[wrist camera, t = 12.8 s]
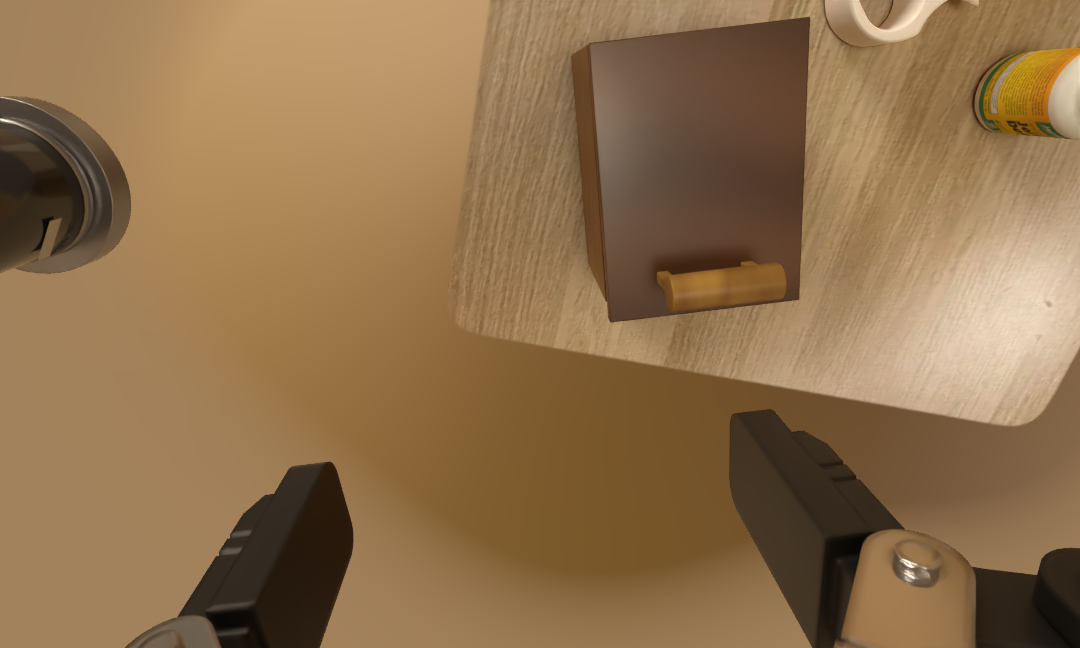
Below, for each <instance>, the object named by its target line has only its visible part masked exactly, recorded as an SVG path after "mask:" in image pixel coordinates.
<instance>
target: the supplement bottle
mask: <svg viewBox="0 0 1080 648" xmlns="http://www.w3.org/2000/svg"><path fill="white" fill-rule="evenodd" d="M975 112H976V115H977V117H978V119H979V121H980V123H981V124H982V125H983V126H984V127H985V128H986V129H988V130H990V131H993V132H997V133H1005V134H1017V135H1030V136H1043V137H1055V138H1065V139H1080V47H1078V48H1067V49H1054V50H1043V51H1030V52H1021V53H1016V54H1013V55H1010V56H1008V57H1006V58H1004V59H1002V60H1001V61H999V62H998V63H997V64H995V65H994V66H993V67H992V68H991V69H990V70H989V71H988V72H987V73H986V74H985V75H984V77H983V78H982V80H981V82H980V84H979V86H978V88H977V91H976V95H975Z"/></svg>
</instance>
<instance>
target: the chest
mask: <svg viewBox="0 0 1080 648" xmlns="http://www.w3.org/2000/svg"><path fill="white" fill-rule="evenodd" d="M587 46H588V45H587ZM587 46H585V47H584V48H582V49H581V50H579V51H578V52H576V53H574V54H573V55H572V56H571V61H572V73H573V85H574V97H575V109H576V121H577V133H578V145H579V157H580V169H581V181H582V193H583V205H584V218H585V230H586V242H587V254H588V264H589V266H590V268H591V271H592V273H593V275H594V277H595V279H596V281H597V283H598V286H599V288H600V290H601V292H602V294H603V296H604V298H605V301H607V294H606V281H605V268H604V255H603V242H602V229H601V216H600V203H599V190H598V177H597V164H596V152H595V139H594V126H593V113H592V100H591V87H590V74H589V61H588V48H587Z"/></svg>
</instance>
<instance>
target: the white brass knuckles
mask: <svg viewBox="0 0 1080 648" xmlns="http://www.w3.org/2000/svg"><path fill="white" fill-rule="evenodd" d="M946 1H947V0H893V6H892V9H891V12H890V14H889V16H888V18H887V19H886V21H885V22H884V23H883V24H882V25H881V26H880V27H879V28H877V27H875V26H874V25H873V24H872V23H871V22H870V21H869V20H868V18H867V16H866V14H865V12H864V10H863V8H862V6H861V4H860V0H825V12H826V16H827V20H828V23H829V25H830V27H831V29H832V30H833V32H834V33H835V34H836V35H837V36H838V37H839V38H840V39H841V40H843V41H844V42H846V43H848V44H851V45H854V46H860V47H869V46H876V45H883V44H890V43H897V42H901V41H905V40H907V39H910V38H912V37H914V36H916V35H917V34H919V32H920V30H921V28H922V26H923V25H924V23H925V21H926V20H927V19H928V17H929V16H930V15H931V14H932V13H933V12H934V11H935V10H936V9H937V8H938V7H939V6H940V5H941V4H943V3H944V2H946ZM964 1H966V2H968V3H970V4H972V5H974V6H976V7H978V4H979V0H964Z"/></svg>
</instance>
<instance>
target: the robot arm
mask: <svg viewBox="0 0 1080 648" xmlns="http://www.w3.org/2000/svg"><path fill="white" fill-rule="evenodd" d="M92 218H93V197H92V192H91V188H90V185H89V182H88V180H87V177H86V175H85V174H84V172H83V170H82V168H81V167H80V165H79V163H78V162H77V161H76V159H75V158H74V157H73V156H72V154H71V153H70V152H69V151H68V150H67V149H66V148H65V147H64V146H63V145H62V144H61V143H60V142H58V141H57V140H56V139H55V138H53V137H52V136H51V135H49V134H48V133H46V132H44V131H43V130H41V129H39V128H37V127H35V126H33V125H30V124H28V123H25V122H22V121H19V120H15V119H9V118H3V117H1V116H0V273H2V272H5V271H8V270H11V269H14V268H17V267H19V266H22V265H25V264H28V263H31V262H35V261H39V260H42V259H45V258H49V257H53V256H56V255H58V254H61V253H64V252H66V251H68V250H70V249H72V248H73V247H75V246H76V245H77V244H78V243H80V241H81V240H82V239H83V238H84V237H85V235H86V234H87V232H88V230H89V228H90V225H91V222H92ZM729 477H730V488H731V493H732V497H733V501H734V504H735V506H736V509H737V511H738V513H739V515H740V516H741V518H742V520H743V522H744V523H745V525H746V527H747V529H748V531H749V532H750V535H751V537H752V538H753V540H754V542H755V544H756V546H757V547H758V549H759V551H760V553H761V555H762V557H763V558H764V560H765V562H766V564H767V566H768V567H769V569H770V571H771V573H772V575H773V577H774V578H775V580H776V582H777V584H778V586H779V588H780V589H781V591H782V593H783V595H784V597H785V599H786V600H787V602H788V604H789V606H790V607H791V609H792V611H793V613H794V614H795V617H796V619H797V620H798V622H799V624H800V626H801V628H802V629H803V631H804V633H805V635H806V637H807V638H808V640H809V642H810V644H811V646H812V648H1080V549H1079V548H1063V549H1057V550H1054V551H1051V552H1049V553H1047V554H1046V555H1045V556H1044V557H1043V558H1042V560H1041V563H1040V567H1039V570H1038V574H1037V575H1031V574H1023V573H1014V572H1005V571H997V570H989V569H981V568H976V567H971V565H970V564H969V562H968V561H967V560H966V559H965V558H964V557H963V556H962V555H961V554H960V553H959V552H958V551H956V550H955V549H954V548H952V547H951V546H949V545H948V544H946V543H944V542H942V541H940V540H938V539H936V538H934V537H931V536H929V535H926V534H923V533H919V532H915V531H910V530H905V529H904V528H903V527H902V526H901V524H900V523H899V522H898V521H897V520H896V519H895V518H894V517H893V516H892V515H891V514H890V513H889V511H888V510H887V509H886V508H885V507H884V506H883V505H882V504H881V503H880V502H879V500H878V499H877V498H876V497H875V496H874V495H873V494H872V493H871V492H870V490H869V489H868V488H867V487H866V486H865V485H864V484H863V483H862V482H861V481H860V480H857V479H856V475H855V474H854V473H853V472H852V471H851V470H850V469H849V467H848V466H847V465H844V464H843V461H842V460H841V459H840V458H839V456H838V455H837V454H836V453H835V452H834V451H833V450H832V449H831V448H830V447H829V446H828V444H826V443H824V442H823V441H821V440H819V439H817V438H815V437H813V436H812V435H810V434H808V433H807V432H805V431H796V432H791V431H790V429H789V428H788V427H787V426H786V425H785V423H783V421H782V420H781V419H780V417H779V416H778V415H777V414H776V413H775V412H774V411H773V410H771V409H767V410H759V411H751V412H743V413H735V414H733V415H732V416H731V420H730V472H729ZM352 550H353V527H352V523H351V519H350V515H349V512H348V508H347V505H346V501H345V498H344V494H343V491H342V487H341V484H340V480H339V477H338V473H337V470H336V468H335V466H334V465H333V463H331V462H323V463H315V464H307V465H299V466H292V467H291V468H290V469H289V470H288V472H287V473H286V475H285V476H284V478H283V480H282V482H281V483H280V485H279V487H278V488H277V490H276V491H275V493H274V494H270V495H265V496H264V497H262V498H261V499H260V500H259V501H258V502H257V503H255V504H254V505H253V506H252V507H251V508H250V509H248V510H247V511H246V512H245V513H244V514H243V515H242V517H241V518H240V520H239V522H238V523H237V525H236V526H235V528H234V529H233V531H232V532H231V534H230V539H227V540H226V542H225V543H224V545H223V547H222V548H221V550H220V551H219V556H216V557H215V559H214V561H213V562H212V564H211V565H210V567H209V568H208V570H207V572H206V573H205V575H204V576H203V578H202V579H201V581H200V582H199V584H198V586H197V587H196V589H195V590H194V592H193V593H192V595H191V597H190V598H189V600H188V601H187V603H186V604H185V606H184V608H183V609H182V611H181V612H180V614H179V616H178V617H177V618H173V619H170V620H168V621H165V622H162V623H160V624H158V625H156V626H155V627H152V628H151V629H149V630H147V631H146V632H144V633H143V634H141V635H140V636H138V637H137V638H135V640H133V641H132V642H131V643H130V644H128V645H127V646H126V647H125V648H320V645H321V642H322V639H323V636H324V633H325V631H326V627H327V625H328V622H329V619H330V616H331V613H332V610H333V607H334V604H335V602H336V599H337V596H338V593H339V590H340V587H341V584H342V581H343V578H344V576H345V573H346V570H347V567H348V564H349V561H350V558H351V555H352Z"/></svg>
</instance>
